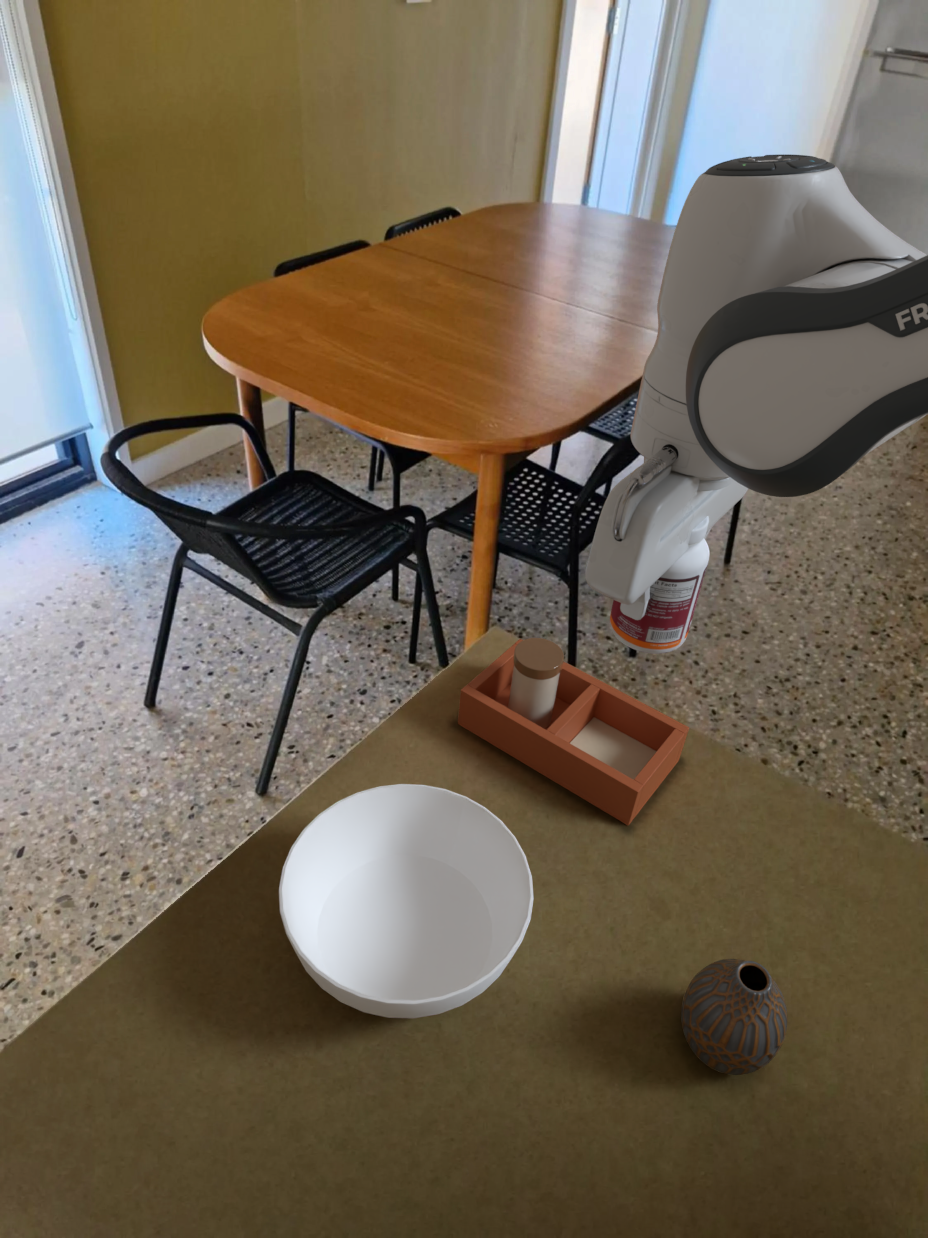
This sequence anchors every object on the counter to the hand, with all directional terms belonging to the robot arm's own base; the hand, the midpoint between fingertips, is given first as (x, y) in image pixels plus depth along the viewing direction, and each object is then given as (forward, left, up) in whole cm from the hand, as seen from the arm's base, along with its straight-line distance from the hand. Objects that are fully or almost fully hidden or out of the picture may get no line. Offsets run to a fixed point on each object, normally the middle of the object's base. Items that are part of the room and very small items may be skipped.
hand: (658, 589), depth 67 cm
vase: (-5, +24, -23) cm, 33 cm away
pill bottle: (0, 0, -4) cm, 4 cm away
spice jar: (+7, -8, -22) cm, 24 cm away
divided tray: (+3, -5, -23) cm, 23 cm away
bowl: (+18, +16, -23) cm, 33 cm away
